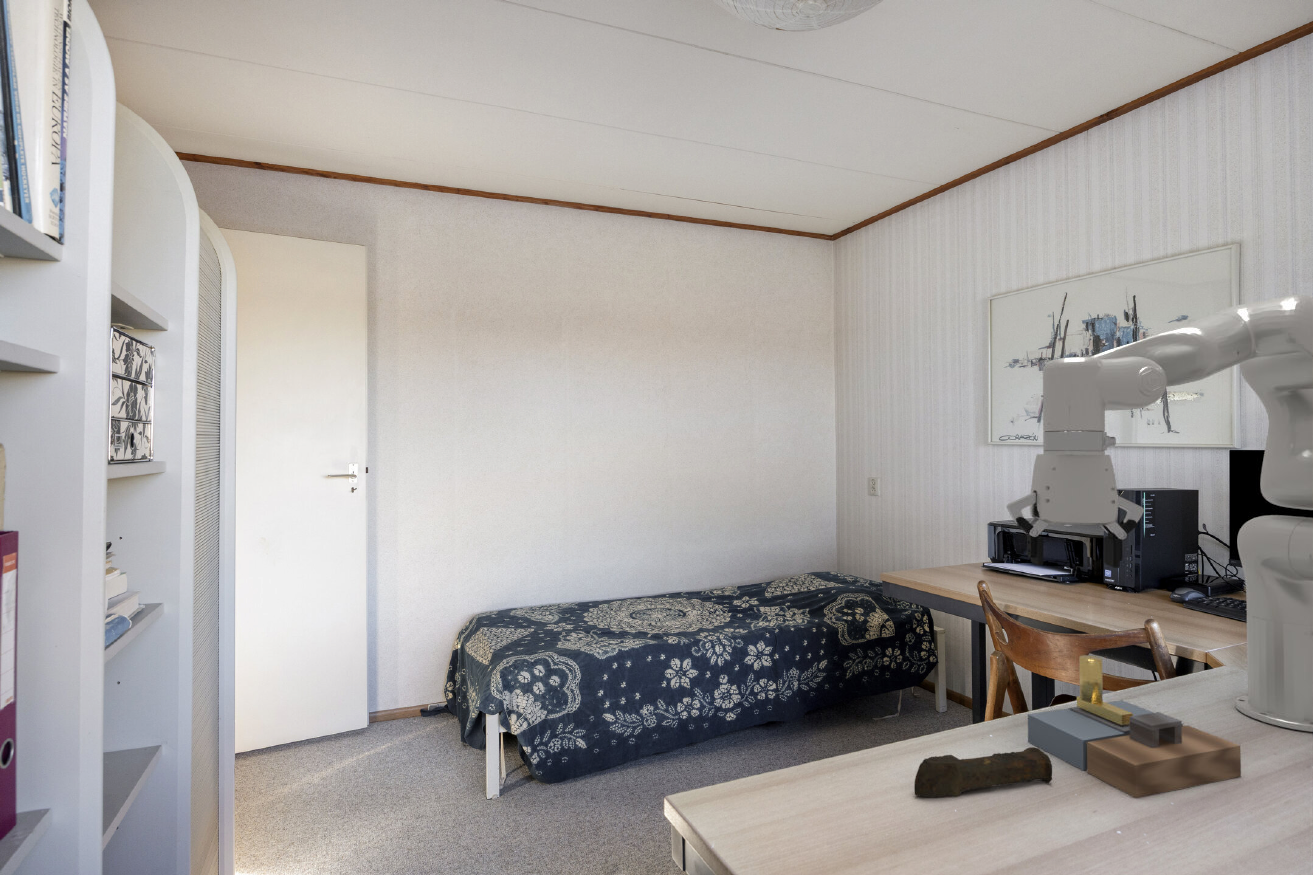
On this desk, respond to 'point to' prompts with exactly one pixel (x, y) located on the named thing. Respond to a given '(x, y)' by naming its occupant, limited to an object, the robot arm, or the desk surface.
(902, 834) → the desk surface
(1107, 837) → the desk surface
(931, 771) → the hand tool
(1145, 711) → the door leaf
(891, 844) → the desk surface
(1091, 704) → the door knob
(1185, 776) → the door jamb
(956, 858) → the desk surface
